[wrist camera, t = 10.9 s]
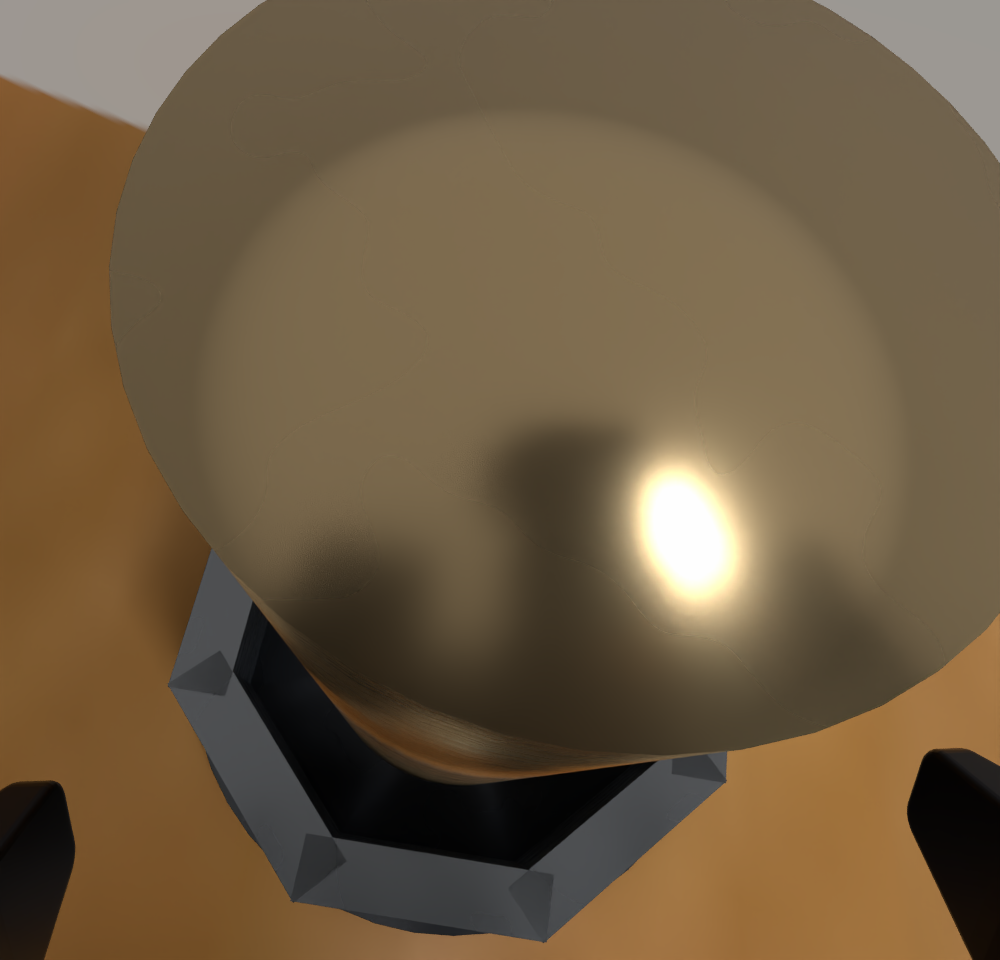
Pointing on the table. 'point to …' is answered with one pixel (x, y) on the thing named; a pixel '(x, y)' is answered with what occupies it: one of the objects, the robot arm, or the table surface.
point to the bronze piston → (574, 367)
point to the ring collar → (405, 797)
